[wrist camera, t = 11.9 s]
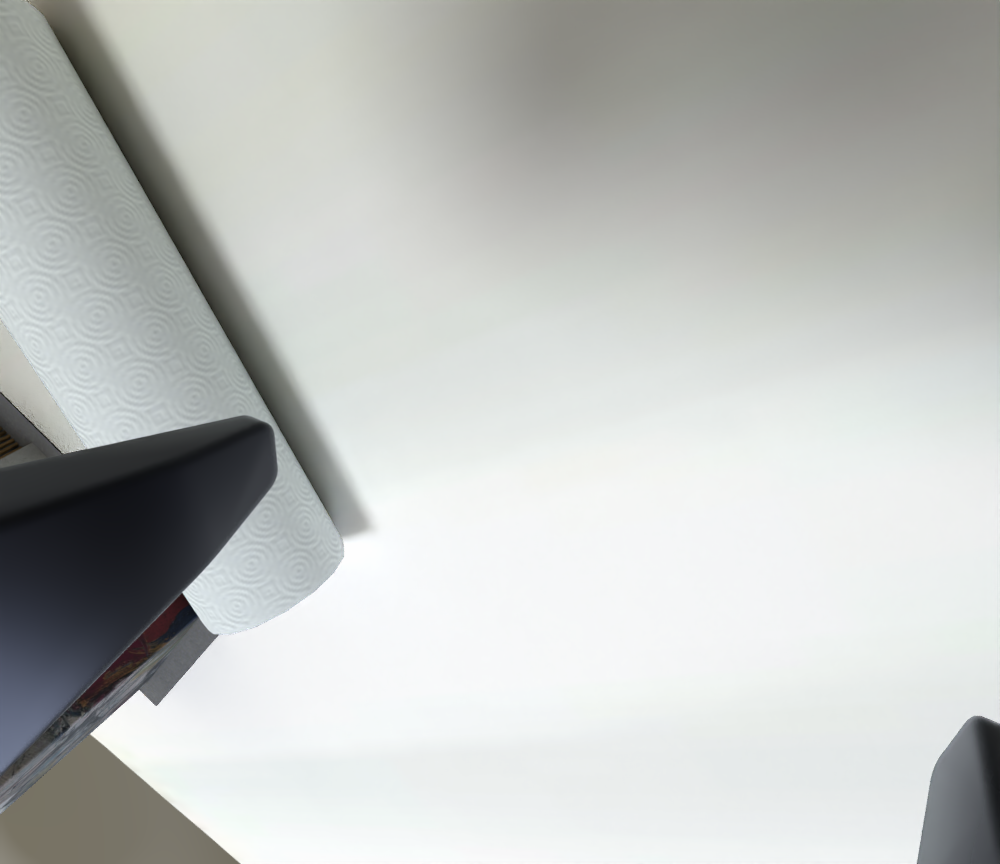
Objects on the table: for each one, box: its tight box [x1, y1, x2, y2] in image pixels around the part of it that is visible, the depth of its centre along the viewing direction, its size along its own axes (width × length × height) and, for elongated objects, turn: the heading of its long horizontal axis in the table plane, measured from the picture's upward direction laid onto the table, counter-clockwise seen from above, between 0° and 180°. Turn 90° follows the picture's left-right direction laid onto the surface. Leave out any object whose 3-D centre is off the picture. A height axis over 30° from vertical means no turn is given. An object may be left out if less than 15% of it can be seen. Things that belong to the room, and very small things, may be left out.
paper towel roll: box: [0, 0, 344, 635], centre depth 27 cm, size 7×6×21 cm
